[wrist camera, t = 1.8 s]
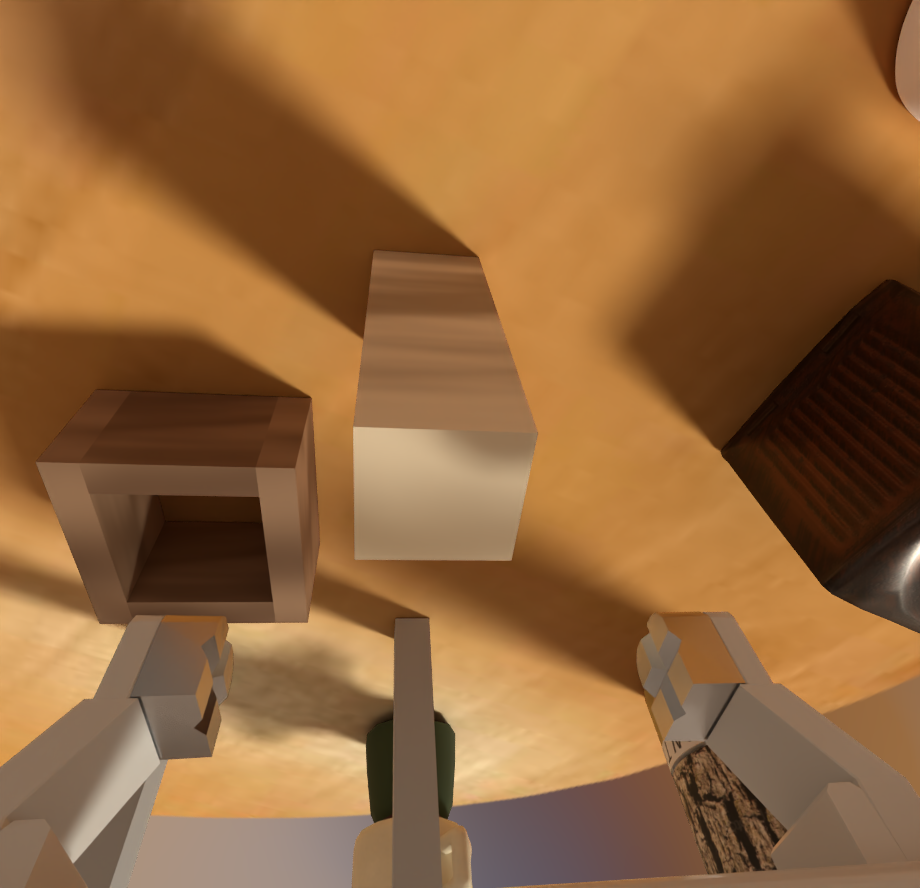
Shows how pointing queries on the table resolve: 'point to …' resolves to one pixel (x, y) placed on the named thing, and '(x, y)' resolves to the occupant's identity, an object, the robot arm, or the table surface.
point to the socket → (189, 474)
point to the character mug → (377, 838)
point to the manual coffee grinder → (848, 456)
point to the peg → (437, 416)
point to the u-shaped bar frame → (412, 783)
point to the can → (909, 61)
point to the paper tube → (720, 808)
